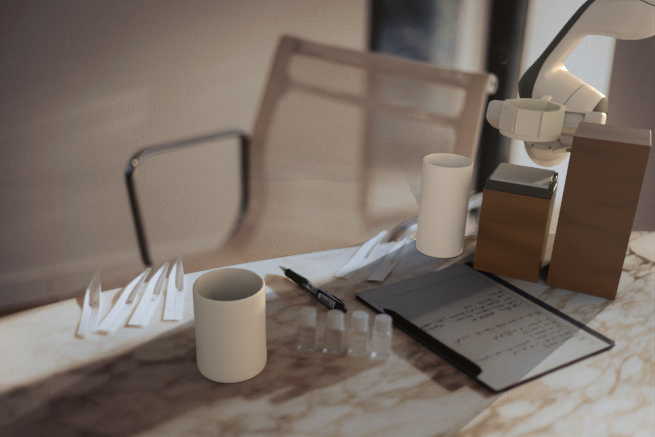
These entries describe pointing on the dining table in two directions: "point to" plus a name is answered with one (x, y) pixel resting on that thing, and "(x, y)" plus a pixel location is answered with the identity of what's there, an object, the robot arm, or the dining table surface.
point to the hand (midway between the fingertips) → (542, 106)
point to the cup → (443, 204)
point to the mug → (230, 324)
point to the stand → (571, 216)
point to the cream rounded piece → (532, 119)
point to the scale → (522, 180)
